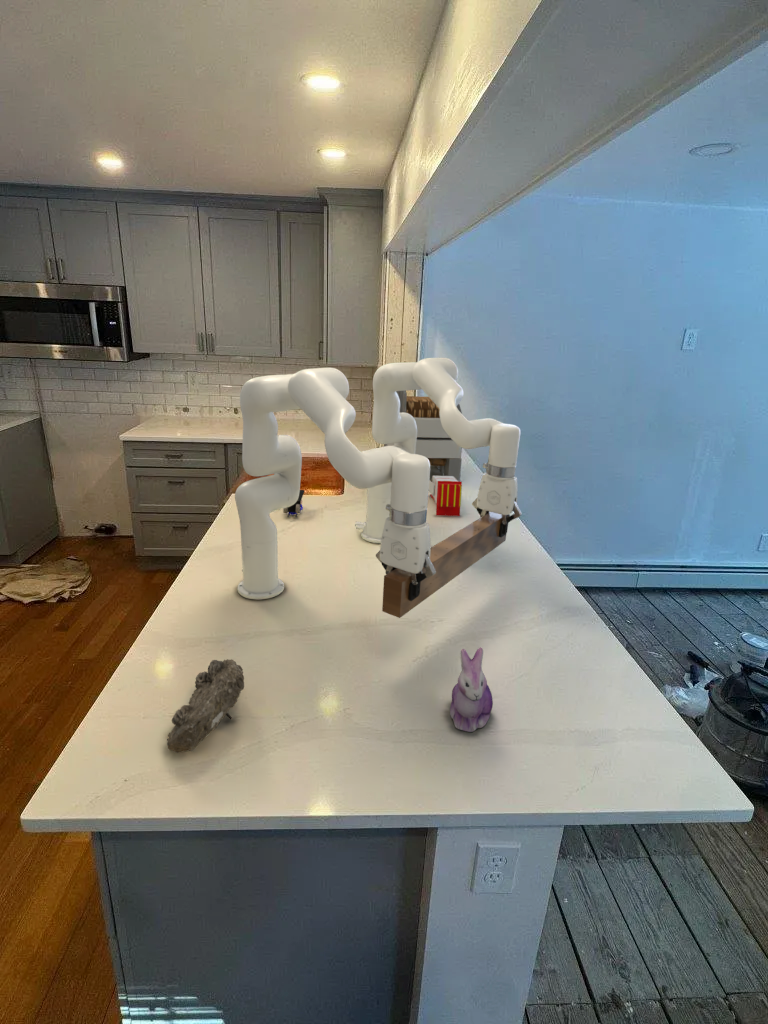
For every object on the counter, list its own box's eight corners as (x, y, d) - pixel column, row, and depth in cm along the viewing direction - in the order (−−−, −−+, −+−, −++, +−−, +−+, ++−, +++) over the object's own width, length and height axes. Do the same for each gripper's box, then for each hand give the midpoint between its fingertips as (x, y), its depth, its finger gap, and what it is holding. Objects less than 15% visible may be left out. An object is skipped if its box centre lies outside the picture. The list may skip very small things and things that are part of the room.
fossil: (192, 660, 117) (244, 628, 112) (224, 691, 120) (276, 661, 115) (142, 746, 98) (202, 712, 93) (182, 779, 101) (242, 748, 96)
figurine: (465, 741, 105) (473, 672, 100) (436, 707, 113) (441, 643, 108) (506, 726, 109) (515, 660, 104) (474, 695, 117) (481, 632, 112)
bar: (491, 536, 164) (494, 509, 161) (505, 540, 161) (509, 512, 159) (381, 611, 120) (383, 575, 118) (399, 618, 118) (402, 582, 115)
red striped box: (454, 471, 244) (466, 482, 214) (452, 502, 246) (464, 517, 217) (426, 471, 243) (434, 481, 214) (424, 501, 246) (432, 516, 217)
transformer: (382, 463, 289) (386, 382, 275) (445, 464, 293) (451, 384, 279) (390, 482, 257) (394, 392, 243) (460, 483, 261) (468, 394, 247)
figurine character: (300, 523, 209) (305, 505, 222) (300, 504, 206) (305, 487, 219) (282, 522, 209) (288, 504, 222) (281, 504, 205) (287, 487, 219)
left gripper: (363, 510, 117) (361, 589, 123) (435, 530, 108) (428, 614, 114) (384, 501, 123) (380, 577, 129) (453, 520, 114) (446, 600, 120)
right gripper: (466, 467, 153) (460, 529, 160) (525, 480, 145) (516, 545, 151) (478, 462, 159) (471, 522, 166) (536, 474, 151) (527, 537, 157)
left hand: (403, 593), depth 122 cm, fingers closed on bar, 4 cm apart
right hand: (493, 532), depth 158 cm, fingers closed on bar, 4 cm apart
